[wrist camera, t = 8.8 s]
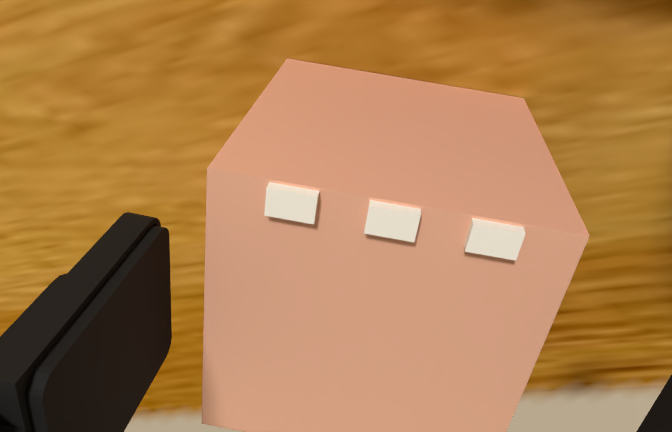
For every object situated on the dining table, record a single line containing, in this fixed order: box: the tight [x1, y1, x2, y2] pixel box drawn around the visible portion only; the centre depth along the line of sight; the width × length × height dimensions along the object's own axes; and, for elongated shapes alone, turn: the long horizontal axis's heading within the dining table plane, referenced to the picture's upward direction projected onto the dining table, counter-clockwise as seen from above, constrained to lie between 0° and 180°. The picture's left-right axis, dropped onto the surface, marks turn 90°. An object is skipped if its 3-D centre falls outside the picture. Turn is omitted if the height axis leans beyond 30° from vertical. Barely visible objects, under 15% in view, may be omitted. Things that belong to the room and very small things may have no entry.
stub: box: [202, 58, 590, 432], centre depth 13 cm, size 6×6×7 cm
